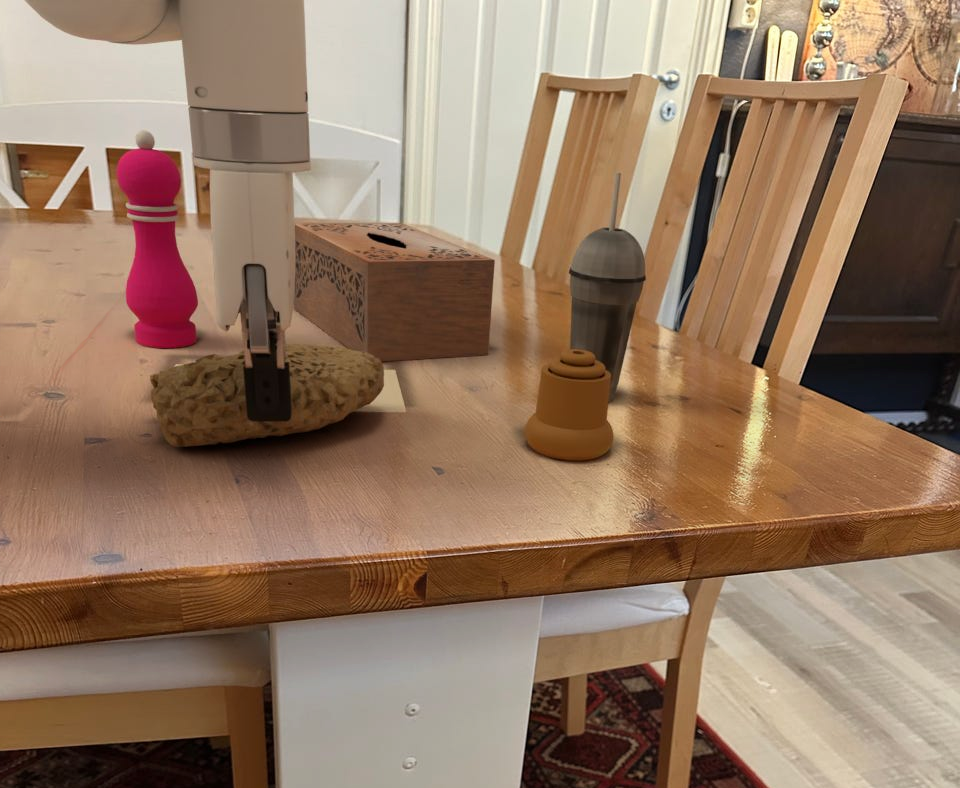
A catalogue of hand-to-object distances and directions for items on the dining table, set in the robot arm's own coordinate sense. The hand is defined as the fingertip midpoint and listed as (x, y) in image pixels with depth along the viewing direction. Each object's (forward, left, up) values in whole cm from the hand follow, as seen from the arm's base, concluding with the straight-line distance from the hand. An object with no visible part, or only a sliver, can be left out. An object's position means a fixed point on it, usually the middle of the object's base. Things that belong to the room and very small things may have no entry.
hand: (270, 417), depth 70 cm
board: (0, +20, -4) cm, 20 cm away
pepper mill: (-13, +36, -4) cm, 38 cm away
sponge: (0, +8, -4) cm, 9 cm away
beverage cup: (+30, +19, -4) cm, 36 cm away
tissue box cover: (+11, +44, -4) cm, 46 cm away
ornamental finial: (+24, +4, -4) cm, 25 cm away
